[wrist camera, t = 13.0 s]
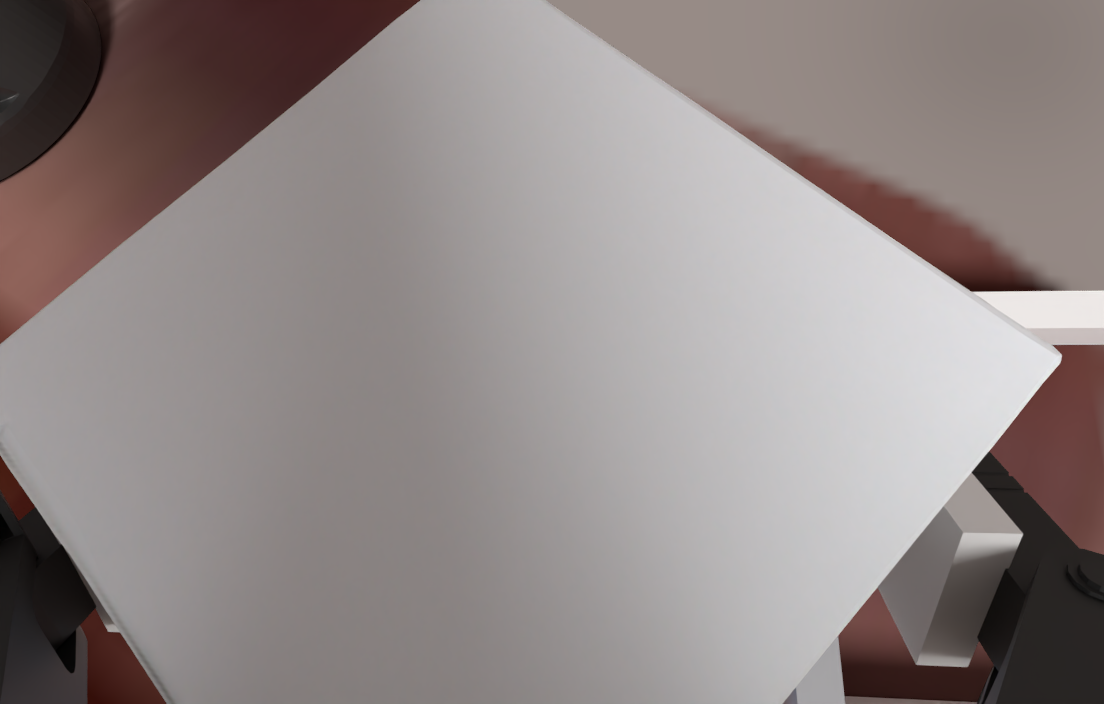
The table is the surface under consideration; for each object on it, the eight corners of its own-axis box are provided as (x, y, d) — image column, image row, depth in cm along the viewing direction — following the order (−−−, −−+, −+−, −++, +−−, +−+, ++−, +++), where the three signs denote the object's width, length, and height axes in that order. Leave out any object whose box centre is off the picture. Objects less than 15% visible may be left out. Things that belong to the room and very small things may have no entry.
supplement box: (749, 498, 22) (1135, 367, 6) (571, 698, 20) (450, 1241, 4) (561, 328, 25) (478, -79, 9) (392, 495, 23) (-92, 377, 7)
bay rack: (408, 315, 27) (393, 297, 25) (1190, 309, 24) (1239, 288, 22) (367, 719, 22) (345, 735, 20) (1335, 770, 20) (1413, 795, 18)
